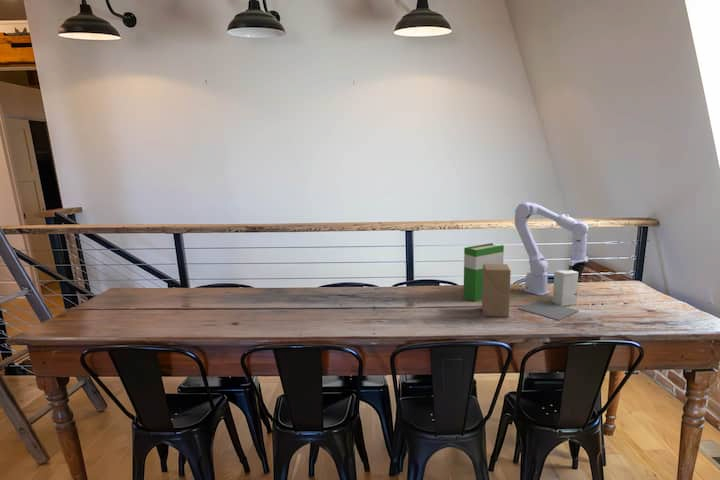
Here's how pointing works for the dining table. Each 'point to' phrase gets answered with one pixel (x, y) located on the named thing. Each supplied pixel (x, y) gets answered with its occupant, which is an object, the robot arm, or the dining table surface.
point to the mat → (549, 310)
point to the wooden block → (496, 290)
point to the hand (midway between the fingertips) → (577, 278)
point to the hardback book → (479, 267)
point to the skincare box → (565, 287)
